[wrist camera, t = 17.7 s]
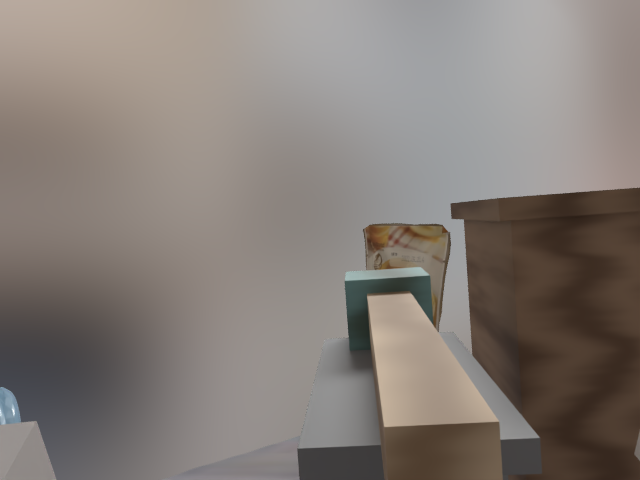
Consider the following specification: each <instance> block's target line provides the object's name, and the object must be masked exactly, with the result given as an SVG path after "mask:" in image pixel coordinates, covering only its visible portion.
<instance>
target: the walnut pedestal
mask: <svg viewBox="0 0 640 480" xmlns="http://www.w3.org/2000/svg"><path fill="white" fill-rule="evenodd" d="M451 214H452V215H451V216H452V219H464V227H465V243H466V258H467V259H466V260H467V274H468V275H467V276H468V292H469V307H470V323H471V339H472V355H473V357H474V358H475V359H476V360H477V362H478V363H479V364H480V365H481V366H482V368H483V369H484V370H485V371H486V373H487V374H488V375H489V376H490V377H491V379H492V380H493V381H494V382H495V384H496V385H497V386H498V387H499V388H500V390H501V391H502V392H503V393H504V395H505V396H506V397H507V398H508V399H509V401H510V402H511V403H512V404H513V405H514V407H515V408H516V409H517V410H518V412H519V413H520V414H521V415H522V416H523V418H524V419H525V420H526V421H527V423H528V424H529V425H530V426H531V427H532V429H533V430H534V431H535V432H536V434H537V435H538V436H539V437H540V446H541V463H542V474H524V475H508V480H640V461H639V459H638V458H637V457H636V456H635V454H634V453H635V449H636V445H637V440H638V436H639V431H640V188H630V189H617V190H603V191H590V192H576V193H565V194H564V193H563V194H550V195H537V196H523V197H510V198H497V199H488V200H478V201H469V202H460V203H452V204H451Z"/></svg>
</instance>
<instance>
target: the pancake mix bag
mask: <svg viewBox="0 0 640 480" xmlns="http://www.w3.org/2000/svg"><path fill="white" fill-rule="evenodd" d="M363 232H364V238H365V248H366V270H367V271H368V270H383V269H398V268H412V267H421V268H422V269H423V270H424V271H426V272H427V273H428V274H429V275H430V280H431V295H432V310H433V325H434V327H435V329H436V330H437V332H439V322H440V317H441V313H442V300H443V290H444V282H445V275H446V269H447V264H448V260H449V255H450V246H451V241H450V232H448V231H447V230H446V229H445V228H444V227H443V225H439V224H419V225H412V224H402V223H401V224H400V223H399V224H398V223H395V224H394V223H392V224H373V225H369V226H368V227H366V228H365V229H363Z"/></svg>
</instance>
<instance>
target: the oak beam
mask: <svg viewBox="0 0 640 480" xmlns="http://www.w3.org/2000/svg"><path fill="white" fill-rule="evenodd" d="M345 290H346V306H347V319H348V333H349V347H350V351H354V350H371V356H372V365H373V375H374V384H375V394H376V403H377V413H378V422H379V432H380V441H381V451H382V460H383V470H384V479H385V480H503V474H502V457H501V441H500V425H499V420H498V419H497V418H496V416H495V415H494V413H493V412H492V410H491V409H490V407H489V406H488V404H487V403H486V401H485V400H484V399H483V397H482V396H481V394H480V393H479V391H478V390H477V388H476V387H475V385H474V384H473V383H472V381H471V380H470V378H469V377H468V375H467V374H466V372H465V371H464V369H463V368H462V367H461V365H460V364H459V362H458V361H457V359H456V358H455V356H454V355H453V353H452V352H451V350H450V349H449V348H448V346H447V345H446V343H445V342H444V340H443V339H442V337H441V336H440V334H439V333H438V332H437V330H436V329H435V327H434V325H433V310H432V295H431V280H430V275H429V274H428V273H427V272H426V271H424V270H423V269H422V268H421V267H412V268H398V269H383V270H368V271H355V272H354V271H353V272H346V277H345Z"/></svg>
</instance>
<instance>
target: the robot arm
mask: <svg viewBox="0 0 640 480" xmlns="http://www.w3.org/2000/svg"><path fill="white" fill-rule="evenodd" d="M634 454H635V456H636V457H637V458H638V459H639V461H640V431H639V436H638V440H637V445H636V449H635V453H634ZM0 480H56V477H55V474H54V471H53V469H52V465H51V463H50V460H49V457H48V454H47V451H46V448H45V445H44V442H43V439H42V436H41V433H40V430H39V427H38V425H37V422H36V421H33V422H23V423H21V420H20V413H19V409H18V405H17V401H16V398H15V397H14V395H13V394H12V392H10V391H9V390H7V389H5V388H3V387H0Z"/></svg>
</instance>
